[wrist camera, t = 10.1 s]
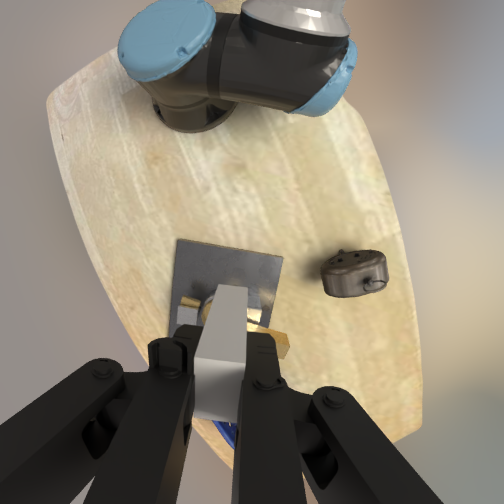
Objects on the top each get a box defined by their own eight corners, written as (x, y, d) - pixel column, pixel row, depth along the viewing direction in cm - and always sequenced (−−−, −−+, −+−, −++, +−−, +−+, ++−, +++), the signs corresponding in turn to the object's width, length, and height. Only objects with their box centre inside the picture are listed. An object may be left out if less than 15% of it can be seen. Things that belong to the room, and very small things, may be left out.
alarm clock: (316, 283, 49) (344, 320, 33) (310, 254, 48) (338, 282, 32) (370, 267, 48) (415, 295, 32) (366, 239, 47) (413, 258, 31)
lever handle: (178, 313, 44) (167, 331, 37) (186, 285, 43) (175, 300, 36) (276, 344, 45) (280, 366, 39) (287, 319, 44) (293, 338, 38)
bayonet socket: (180, 238, 47) (168, 245, 40) (282, 256, 48) (287, 266, 41) (170, 338, 51) (160, 357, 44) (260, 354, 51) (262, 375, 44)
